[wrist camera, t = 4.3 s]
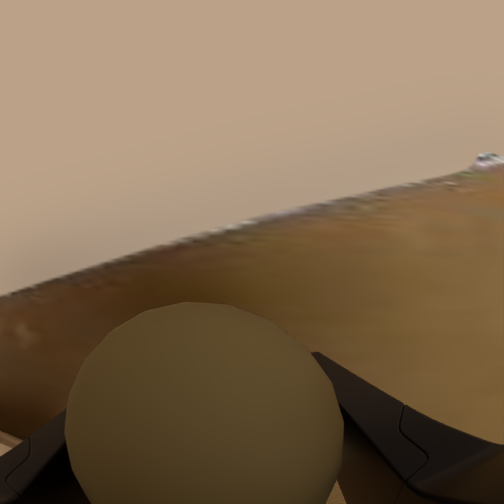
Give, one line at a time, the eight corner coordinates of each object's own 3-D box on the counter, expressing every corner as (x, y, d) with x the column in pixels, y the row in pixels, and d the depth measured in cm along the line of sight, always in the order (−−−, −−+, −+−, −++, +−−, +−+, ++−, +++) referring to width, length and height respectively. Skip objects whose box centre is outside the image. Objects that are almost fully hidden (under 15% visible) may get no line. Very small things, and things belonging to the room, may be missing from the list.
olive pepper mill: (297, 354, 15) (356, 231, 5) (311, 474, 12) (403, 579, 2) (172, 364, 15) (28, 265, 5) (181, 482, 12) (39, 568, 2)
